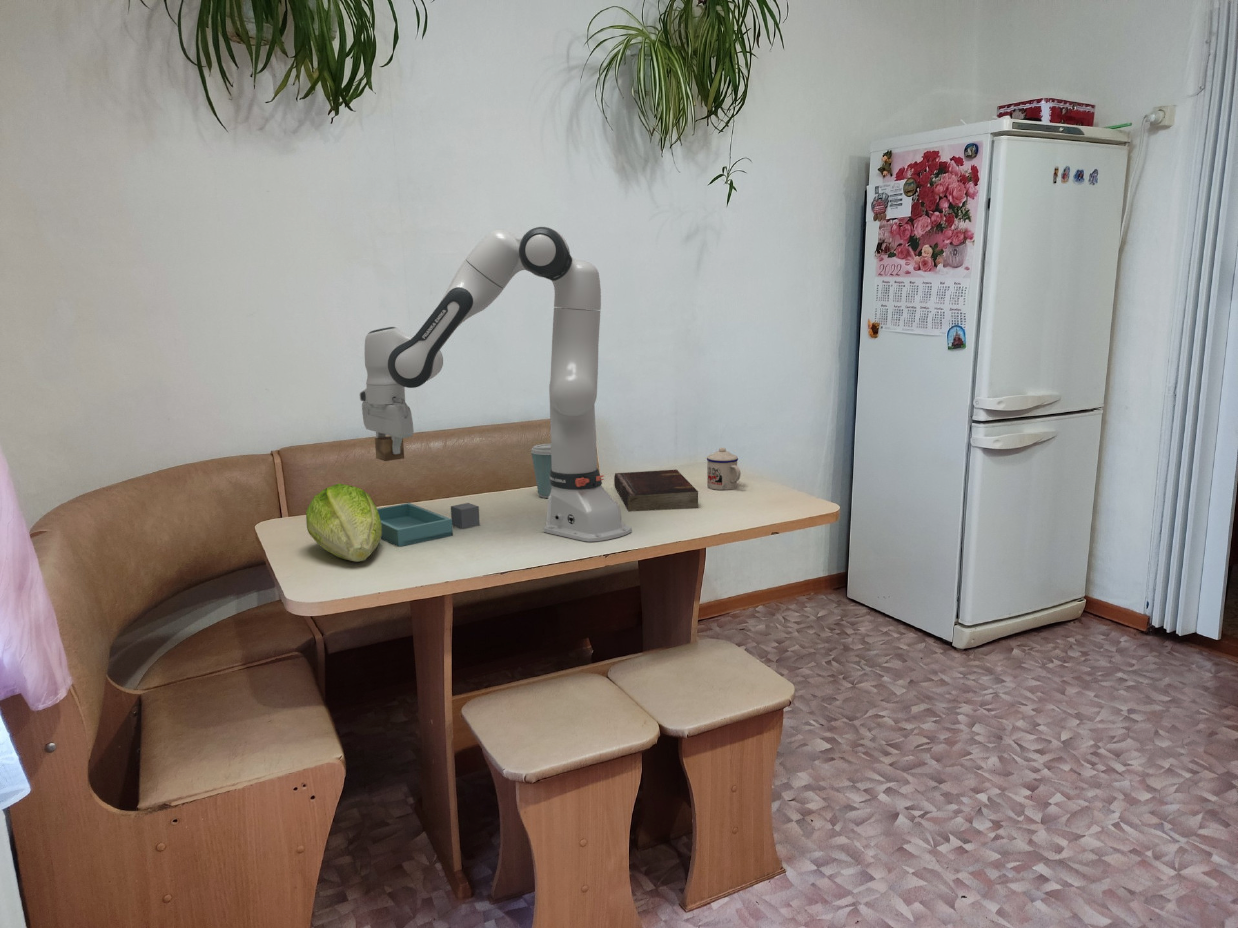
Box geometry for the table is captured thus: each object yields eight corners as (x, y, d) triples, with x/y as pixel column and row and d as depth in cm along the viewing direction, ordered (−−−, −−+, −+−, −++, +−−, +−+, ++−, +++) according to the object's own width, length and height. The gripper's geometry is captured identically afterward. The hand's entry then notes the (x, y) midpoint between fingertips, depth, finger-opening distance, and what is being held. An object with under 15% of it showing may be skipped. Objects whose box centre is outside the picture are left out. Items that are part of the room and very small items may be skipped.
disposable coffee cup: (525, 498, 244) (523, 446, 241) (542, 490, 253) (541, 439, 250) (559, 501, 240) (558, 448, 237) (575, 493, 250) (574, 441, 247)
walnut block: (404, 458, 212) (403, 438, 211) (385, 461, 209) (383, 440, 208) (395, 455, 216) (393, 435, 215) (376, 458, 213) (374, 438, 212)
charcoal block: (479, 525, 217) (478, 506, 216) (462, 529, 213) (461, 509, 212) (469, 521, 220) (468, 502, 219) (451, 525, 217) (450, 506, 216)
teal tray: (452, 535, 208) (451, 519, 207) (398, 546, 199) (397, 530, 198) (410, 517, 225) (409, 502, 224) (358, 527, 216) (357, 512, 215)
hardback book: (614, 488, 257) (614, 472, 256) (676, 485, 259) (676, 469, 258) (628, 513, 228) (627, 494, 227) (698, 509, 231) (698, 491, 230)
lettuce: (398, 579, 191) (324, 599, 186) (375, 518, 210) (308, 534, 204) (390, 526, 183) (312, 545, 178) (367, 467, 202) (296, 483, 196)
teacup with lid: (700, 486, 256) (700, 447, 253) (723, 482, 261) (724, 444, 258) (727, 494, 246) (727, 453, 244) (751, 489, 251) (751, 450, 249)
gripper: (418, 398, 204) (421, 455, 206) (380, 391, 219) (383, 444, 222) (393, 400, 200) (397, 459, 202) (356, 393, 215) (360, 448, 218)
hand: (389, 451), depth 212 cm, fingers closed on walnut block, 5 cm apart
